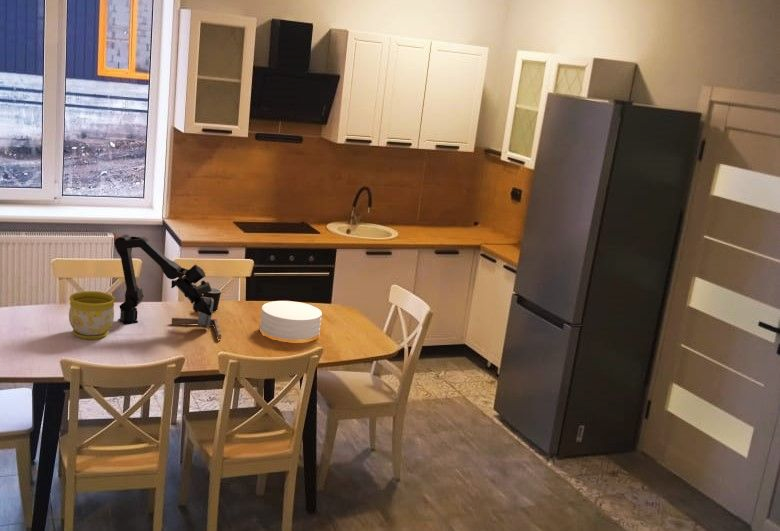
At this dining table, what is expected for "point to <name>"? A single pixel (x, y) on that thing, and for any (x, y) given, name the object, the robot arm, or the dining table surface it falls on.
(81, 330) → the flowerpot
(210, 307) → the bracket
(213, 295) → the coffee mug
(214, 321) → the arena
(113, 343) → the dining table surface
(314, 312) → the plate stack
